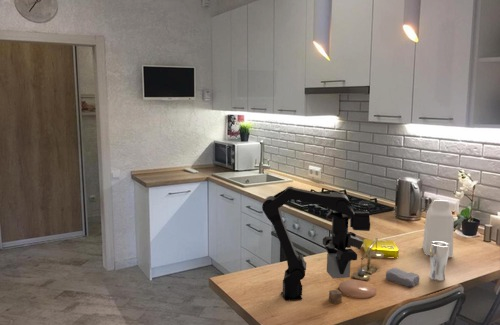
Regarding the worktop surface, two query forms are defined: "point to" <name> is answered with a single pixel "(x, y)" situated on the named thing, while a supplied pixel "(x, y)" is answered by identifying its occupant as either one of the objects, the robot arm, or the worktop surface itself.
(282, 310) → the worktop surface
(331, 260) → the matte slate cube
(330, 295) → the walnut block
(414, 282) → the stone block
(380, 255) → the bronze balance
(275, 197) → the robot arm
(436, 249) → the beer glass
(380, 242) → the element tile
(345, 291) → the peach round platter
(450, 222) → the milk
